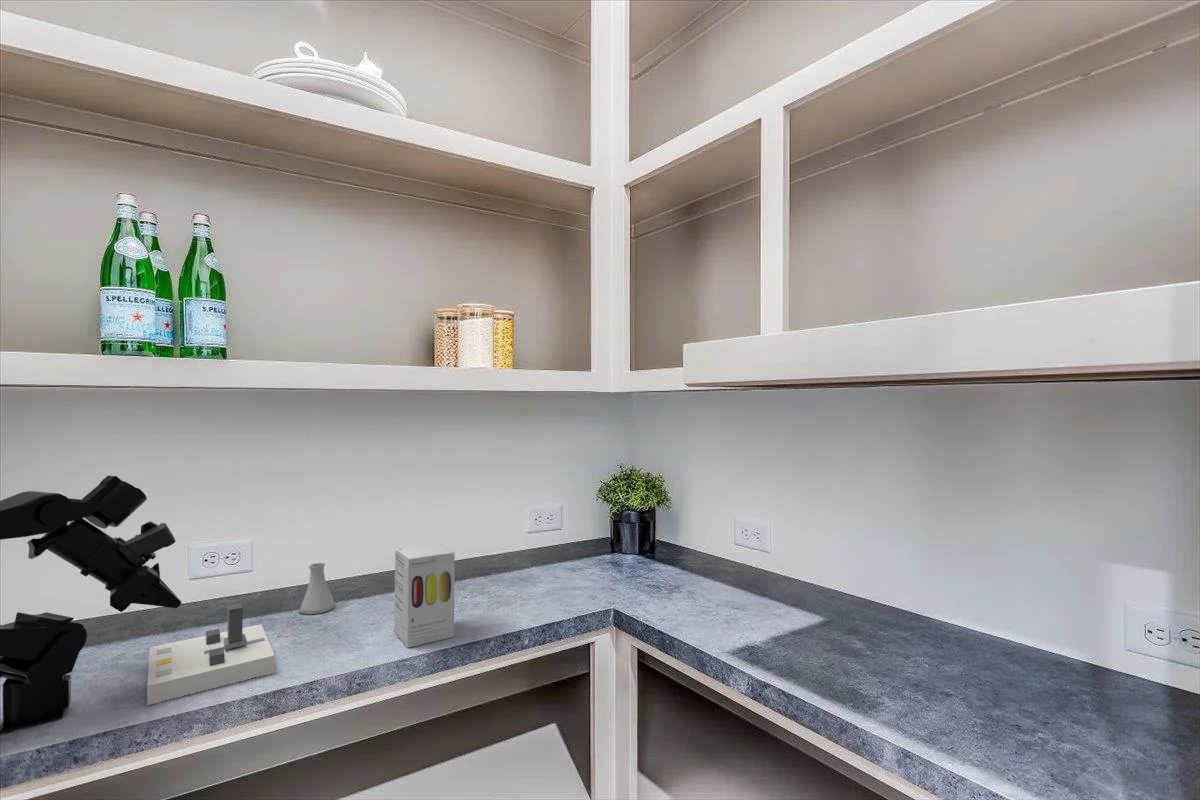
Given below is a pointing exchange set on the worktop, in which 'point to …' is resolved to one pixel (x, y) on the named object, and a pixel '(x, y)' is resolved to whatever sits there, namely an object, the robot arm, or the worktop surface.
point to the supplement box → (424, 594)
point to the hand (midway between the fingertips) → (179, 605)
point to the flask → (317, 592)
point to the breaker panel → (206, 663)
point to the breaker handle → (235, 627)
